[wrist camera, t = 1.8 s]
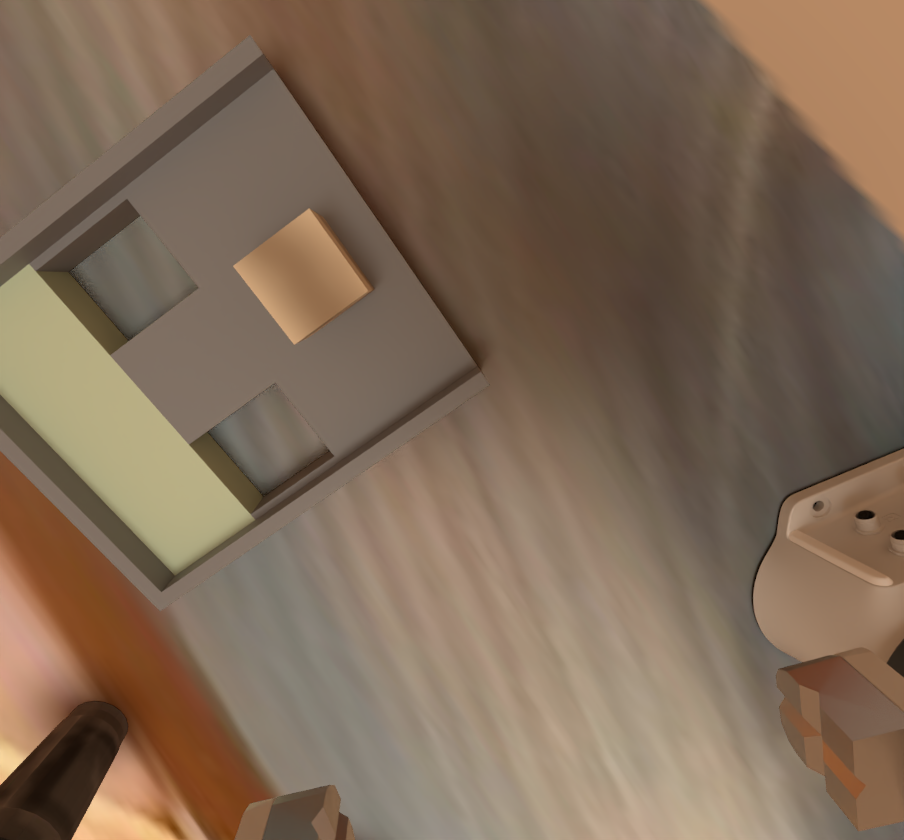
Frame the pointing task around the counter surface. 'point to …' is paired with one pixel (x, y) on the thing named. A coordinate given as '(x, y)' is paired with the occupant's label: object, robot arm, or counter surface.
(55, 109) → the counter surface
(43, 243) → the trap board
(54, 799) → the beverage cup
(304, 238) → the birch block
